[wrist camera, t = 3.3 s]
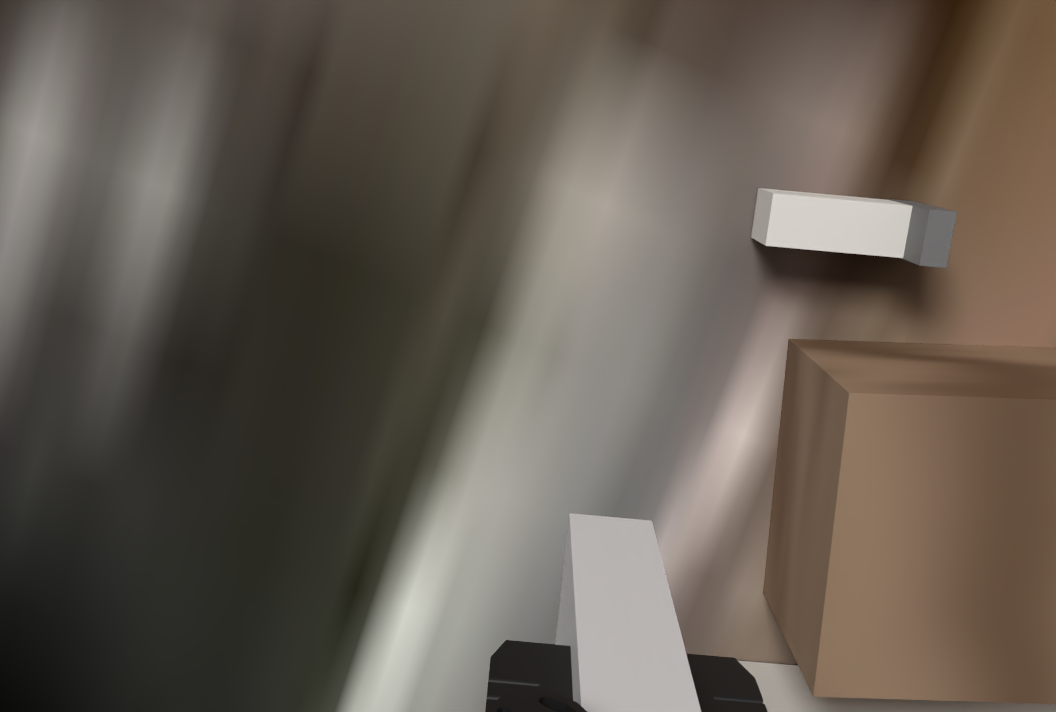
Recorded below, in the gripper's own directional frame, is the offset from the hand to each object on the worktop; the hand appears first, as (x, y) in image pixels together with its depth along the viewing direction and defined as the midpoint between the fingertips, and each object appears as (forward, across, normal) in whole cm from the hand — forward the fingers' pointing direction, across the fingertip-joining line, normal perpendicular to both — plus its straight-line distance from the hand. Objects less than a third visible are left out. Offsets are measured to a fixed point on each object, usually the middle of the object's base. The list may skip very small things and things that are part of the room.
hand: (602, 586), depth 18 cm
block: (+8, +8, 0) cm, 12 cm away
